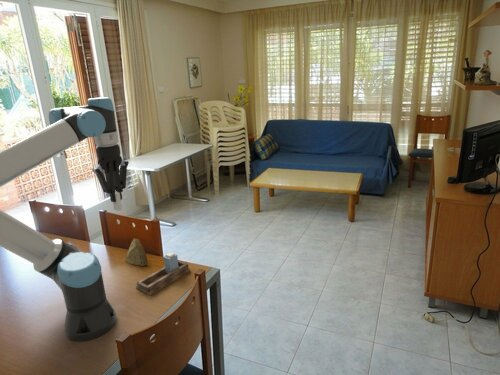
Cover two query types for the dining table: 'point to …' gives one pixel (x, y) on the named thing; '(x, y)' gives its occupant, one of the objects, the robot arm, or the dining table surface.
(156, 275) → the wooden tray
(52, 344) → the dining table surface
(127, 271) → the dining table surface
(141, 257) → the rock
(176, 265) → the rider
